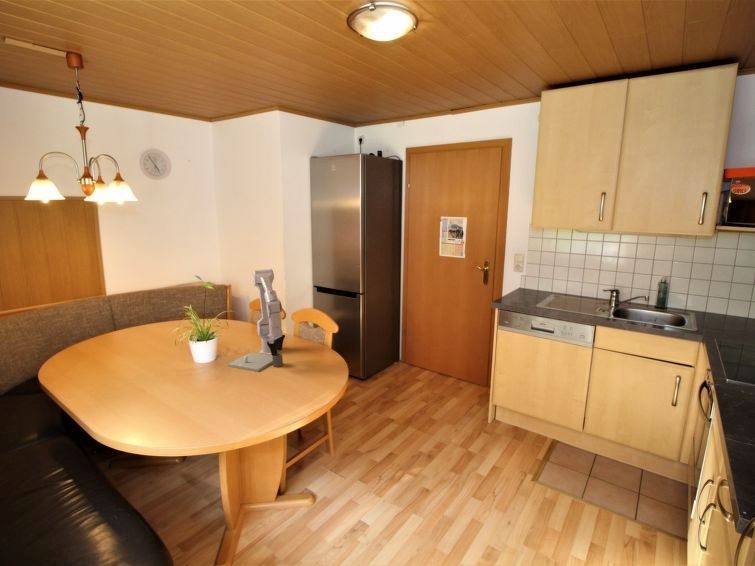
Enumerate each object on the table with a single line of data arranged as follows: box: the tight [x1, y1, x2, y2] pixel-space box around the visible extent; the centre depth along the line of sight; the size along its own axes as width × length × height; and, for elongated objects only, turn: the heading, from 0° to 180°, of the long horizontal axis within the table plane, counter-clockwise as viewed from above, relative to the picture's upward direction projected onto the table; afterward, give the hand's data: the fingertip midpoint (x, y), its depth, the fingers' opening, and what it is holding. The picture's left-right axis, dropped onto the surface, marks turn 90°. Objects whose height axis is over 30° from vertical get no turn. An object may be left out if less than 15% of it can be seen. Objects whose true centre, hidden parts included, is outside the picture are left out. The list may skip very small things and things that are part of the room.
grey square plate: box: [227, 352, 273, 373], centre depth 207 cm, size 16×18×4 cm
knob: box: [271, 352, 284, 368], centre depth 204 cm, size 5×5×6 cm
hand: (277, 352), depth 203 cm, fingers open, 7 cm apart
